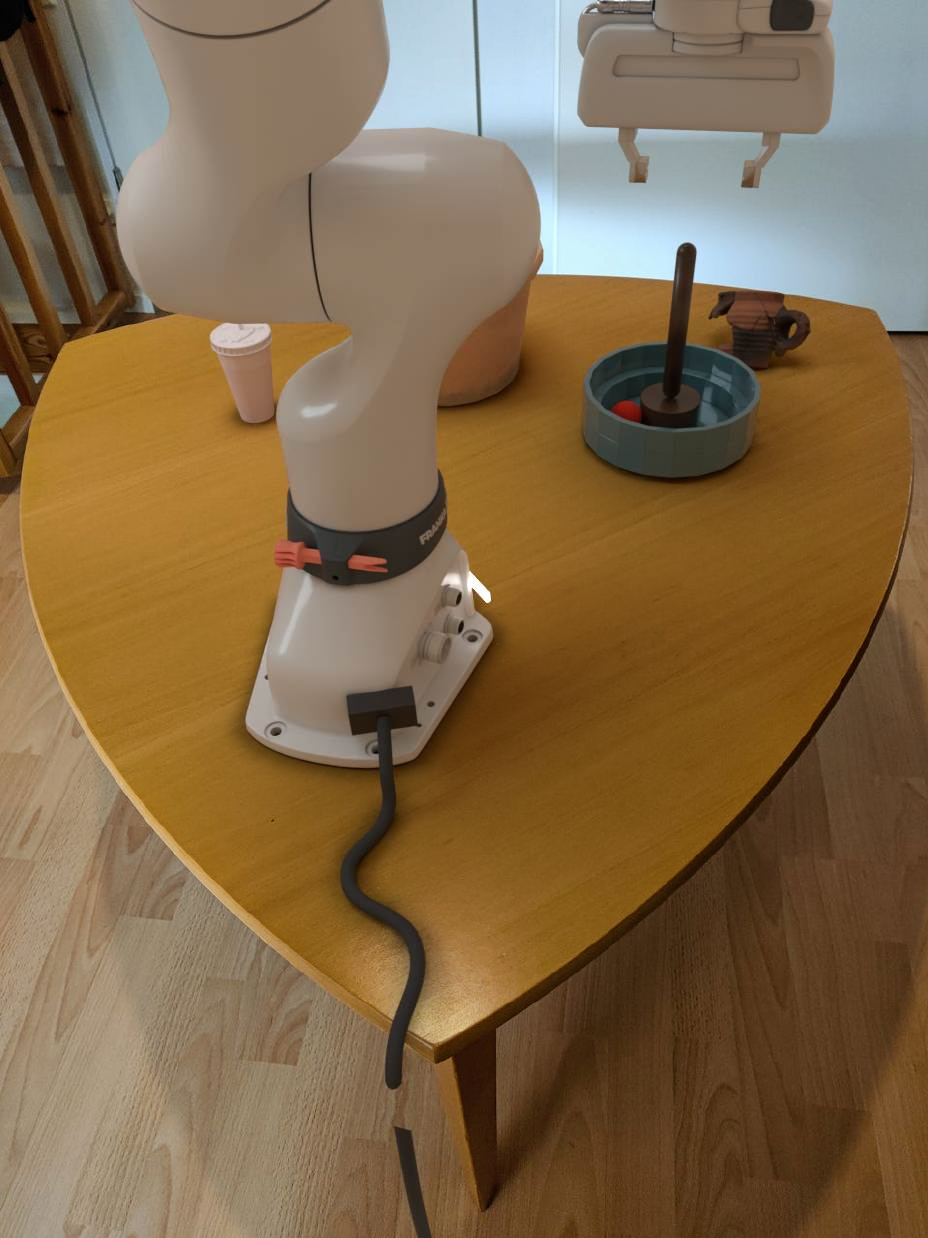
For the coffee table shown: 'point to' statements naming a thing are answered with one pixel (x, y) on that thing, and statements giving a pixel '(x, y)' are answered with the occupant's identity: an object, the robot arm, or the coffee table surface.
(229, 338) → the smoothie
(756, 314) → the pottery mug
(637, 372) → the bowl
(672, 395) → the wooden plunger
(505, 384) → the pottery
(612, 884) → the coffee table surface
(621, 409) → the cherry tomato
